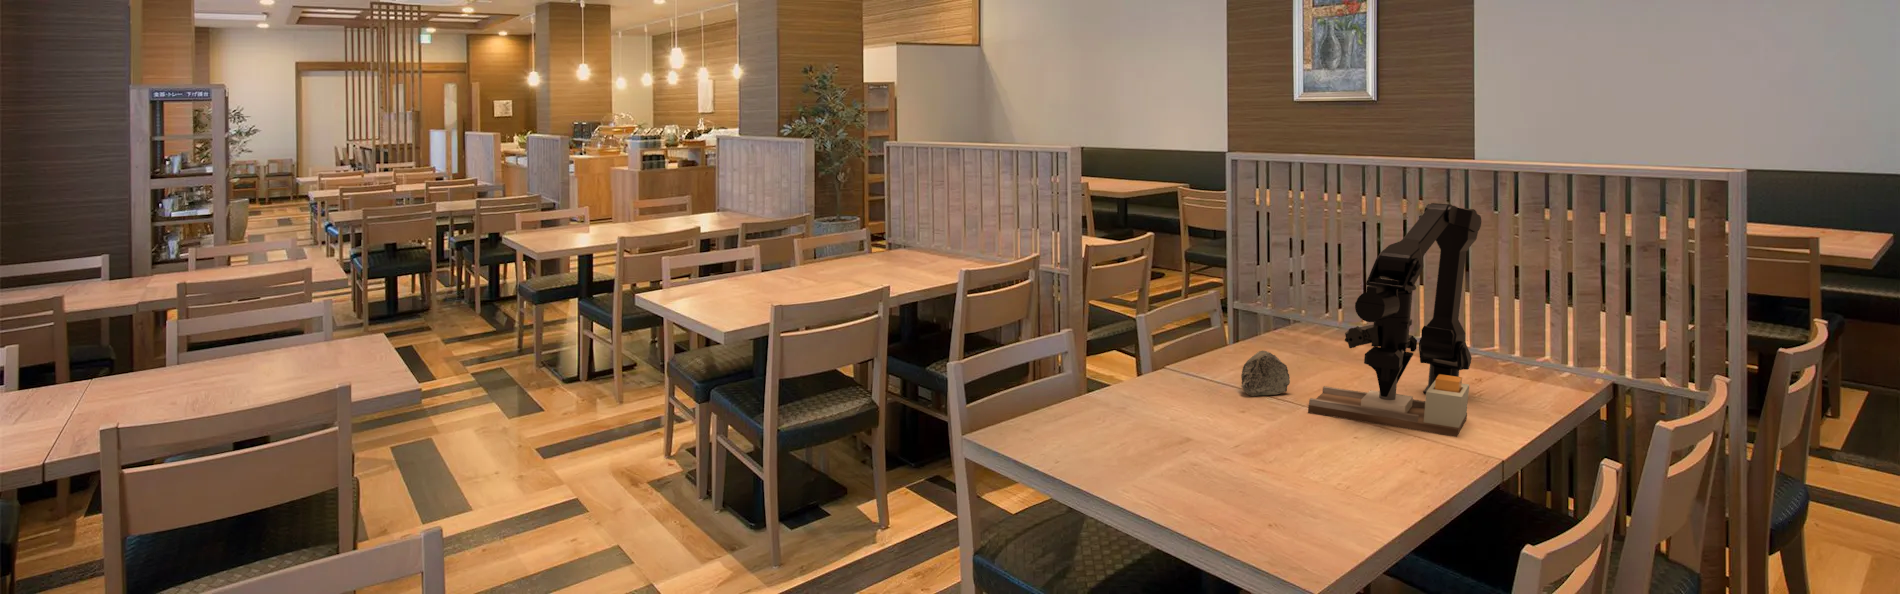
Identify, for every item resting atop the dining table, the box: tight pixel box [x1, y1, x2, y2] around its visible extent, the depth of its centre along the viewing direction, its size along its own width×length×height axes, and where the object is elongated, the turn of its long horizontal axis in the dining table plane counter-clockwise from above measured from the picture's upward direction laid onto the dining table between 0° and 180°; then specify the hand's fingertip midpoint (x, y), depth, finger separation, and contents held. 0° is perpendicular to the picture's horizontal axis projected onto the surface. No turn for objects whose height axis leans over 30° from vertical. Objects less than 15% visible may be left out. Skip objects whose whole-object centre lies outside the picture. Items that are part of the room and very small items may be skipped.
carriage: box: [1361, 378, 1414, 413], centre depth 192 cm, size 8×8×8 cm
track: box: [1307, 385, 1468, 438], centre depth 193 cm, size 12×27×3 cm, turn 55°
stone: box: [1240, 350, 1291, 397], centre depth 210 cm, size 10×10×10 cm
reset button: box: [1435, 374, 1463, 393], centre depth 186 cm, size 4×4×5 cm
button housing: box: [1424, 380, 1470, 428], centre depth 186 cm, size 10×6×6 cm, turn 145°
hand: (1387, 392), depth 192 cm, fingers open, 7 cm apart
